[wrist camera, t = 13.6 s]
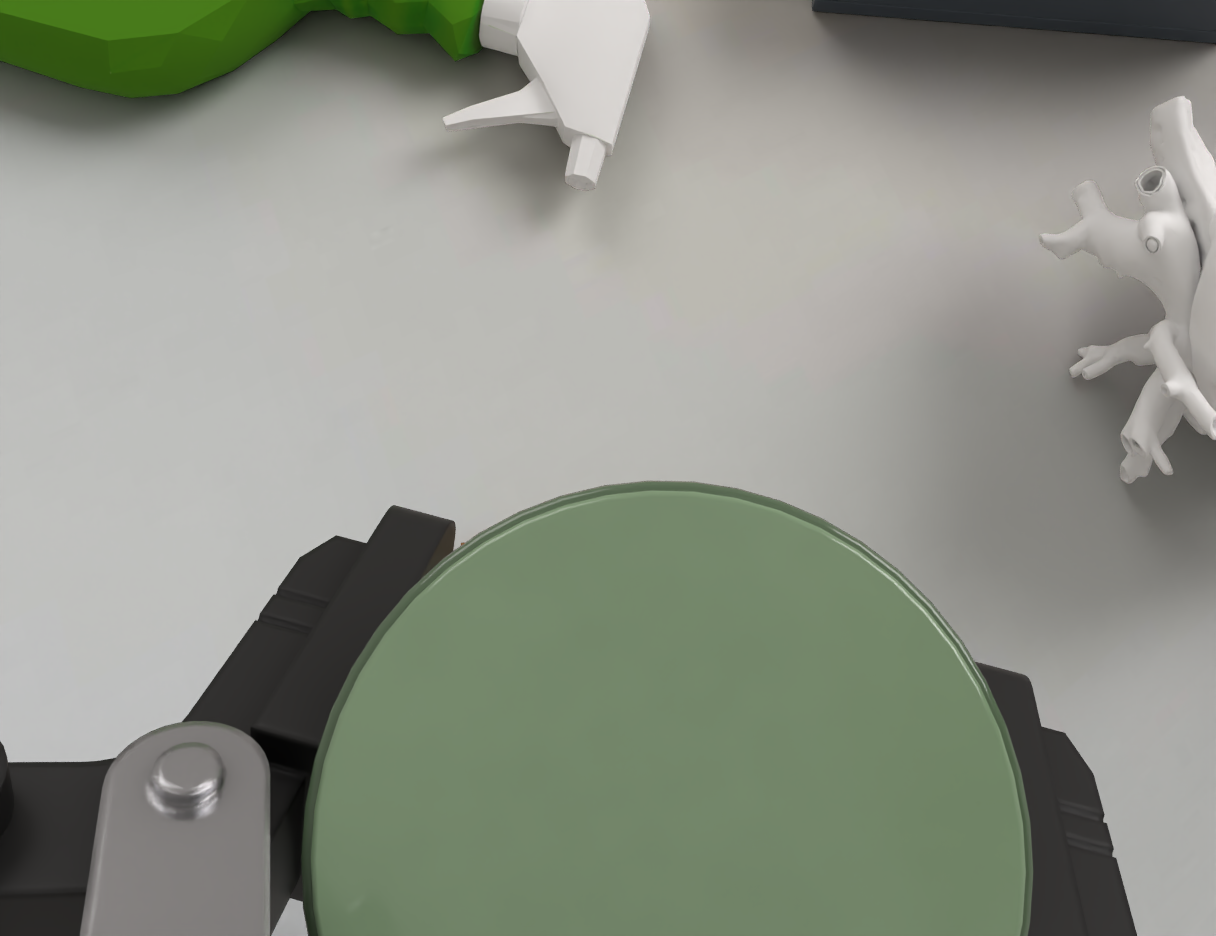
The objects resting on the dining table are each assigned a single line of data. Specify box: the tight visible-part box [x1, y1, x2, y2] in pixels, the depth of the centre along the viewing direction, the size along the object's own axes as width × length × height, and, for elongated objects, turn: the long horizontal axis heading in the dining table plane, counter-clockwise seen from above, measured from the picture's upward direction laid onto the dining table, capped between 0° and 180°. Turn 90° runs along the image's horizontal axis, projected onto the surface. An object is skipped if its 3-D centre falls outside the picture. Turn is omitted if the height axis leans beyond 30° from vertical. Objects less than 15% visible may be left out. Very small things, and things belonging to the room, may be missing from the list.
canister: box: [301, 481, 1033, 936], centre depth 13 cm, size 6×6×10 cm
